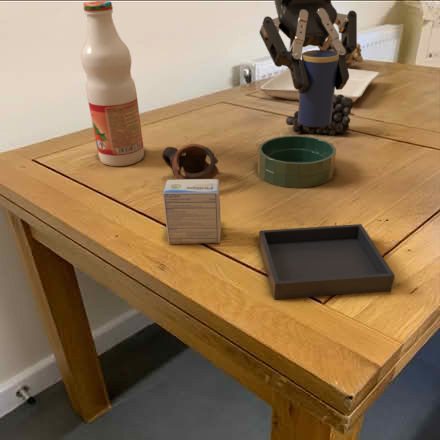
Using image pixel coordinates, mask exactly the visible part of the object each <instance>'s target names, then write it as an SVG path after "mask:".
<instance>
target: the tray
mask: <svg viewBox="0 0 440 440" xmlns="http://www.w3.org/2000/svg"><path fill="white" fill-rule="evenodd" d="M258 233H259V234H258V239H259V240H258V247H259V251H260V254H261V257H262V261H263V264H264V268H265V271H266V275H267V279H268V283H269V286H270V289H271V293H272V296H273V299H274V300H288V299H301V298H316V297H329V296H343V295H345V296H346V295H357V294H370V293H371V294H372V293H383V292H385V293H386V292H391V291H392V290H393V285H394V281H395V273H394V272H393V270H392V268H391V267H390V266H389V264H388V263H387V261H386V260H385V258H384V257H383V255H382V253H381V252H380V251H379V249H378V247H377V246H376V244H375V243H374V241H373V240H372V238H371V237H370V235H369V233H368V232H367V231H366V229H365V227H364V226H363V224H362V223H358V224H357V223H355V224H339V225H327V226H326V225H324V226H311V227H310V226H309V227H295V228H293V227H292V228H279V229H265V230H259V232H258Z"/></svg>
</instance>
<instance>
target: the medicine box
mask: <svg viewBox="0 0 440 440" xmlns="http://www.w3.org/2000/svg"><path fill="white" fill-rule="evenodd" d="M220 189H221V188H220V180H219V179H217V178H213V179H184V180H178V179H167V180H166V182H165V186H164V188H163V191H162V199H163V206H164V207H163V208H164V217H165V224H166V225H165V226H166V235H167V242H168V243H167V244H169V245H170V244H171V245H172V244H177V245H178V244H220V243H221V234H222V218H221V216H222V215H221V195H220V194H221V193H220V192H221V191H220Z"/></svg>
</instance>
